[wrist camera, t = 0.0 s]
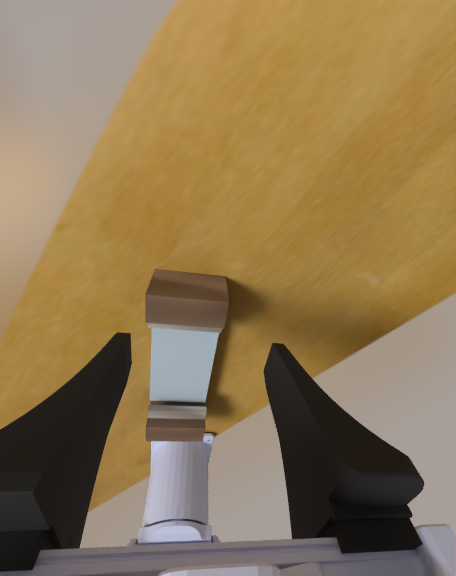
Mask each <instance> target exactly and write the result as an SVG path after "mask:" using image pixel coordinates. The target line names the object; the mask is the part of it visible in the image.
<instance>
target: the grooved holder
mask: <svg viewBox="0 0 456 576" xmlns="http://www.w3.org/2000/svg"><path fill="white" fill-rule="evenodd" d="M228 306H229V297H228V290H227V282H226V277H225V276H215V275H206V274H196V273H186V272H177V271H167V270H157V269H155V270H154V273H153V276H152V279H151V281H150V284H149V287H148V289H147V292H146V323H148V328H160V329H174V330H188V331H201V332H215V333H221V332H222V328H223V329H224V327H225V322H226V317H227V312H228ZM206 413H207V407H205V403H198V402H173V401H151V405H149V407H148V419H147V424H146V441H169V442H203V438H204V432H205V418H206Z"/></svg>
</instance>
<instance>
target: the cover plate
mask: <svg viewBox="0 0 456 576" xmlns="http://www.w3.org/2000/svg"><path fill="white" fill-rule="evenodd" d="M218 336H219V333H215V332H201V331H188V330H174V329H160V328H152V344H151V375H150V401H173V402H198V403H205V401H206V396H207V391H208V386H209V381H210V376H211V371H212V366H213V361H214V356H215V351H216V346H217V341H218Z"/></svg>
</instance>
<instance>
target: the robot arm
mask: <svg viewBox="0 0 456 576" xmlns="http://www.w3.org/2000/svg"><path fill="white" fill-rule="evenodd" d="M131 364H132V359H131V335H130V333H118V332H117V333H116V334H115V335H114V336H113V337H112V338H111V340H110V341H109V342H108V343H107V344H106V345H105V346H104V347H103V348H102V349H101V351H100V352H99V353H98V354H97V355H96V356H95V357H94V358H93V359H92V360H91V361H90V362H89V363H88V364H87V365H86V366H85V367H84V368H83V369H81V370H80V371H79V372H78V373H77V374H76V375H75V376H74V377H73V378H72V379H70V380H69V381H68V382H67V383H66V384H65V385H63V386H62V387H61V388H60V389H58V390H57V391H56V392H55V393H53V394H52V395H51V396H50V397H48V398H47V399H45V400H44V401H43V402H41V403H40V404H39V405H37V406H36V407H35V408H33V409H32V410H30V411H29V412H27V413H26V414H24V415H23V416H21V417H20V418H18V419H16V420H15V421H13V422H12V423H10V424H9V425H7V426H5V427H4V428H2V429H1V430H0V576H456V536H455V535H454V533H453V531H452V530H451V528H450V526H449V525H446V524H437V525H420V526H417V527H415V528H414V526H413V524H412V522H411V521H410V519H409V518H411V517H412V512H411V511H410V509H409V507H408V506H407V504H408V503H409V502H410V501H412V499H414V498H415V497H416V496H417V495H418V494H419V493H420V492H421V491H422V490H423V486H424V481H423V479H422V477H421V476H420V475H419V473H418V471H417V470H416V468H415V466H414V465H413V463H412V461H411V460H410V459H409V457H408V456H407V455H405V454H403V453H402V452H400V451H399V450H397V449H396V448H394V447H393V446H391V445H390V444H388V443H387V442H385V441H383V440H382V439H381V438H379V437H378V436H376V435H375V434H374V433H372V432H371V431H369V430H368V429H367V428H365V427H364V426H363V425H361V424H360V423H359V422H358V421H356V420H355V419H354V418H353V417H352V416H350V415H349V414H348V413H347V412H345V411H344V410H343V409H342V408H341V407H340V406H339V405H338V404H336V403H335V402H334V401H333V400H332V399H331V398H330V397H329V396H328V395H327V394H326V393H325V392H324V391H323V390H322V389H321V388H320V387H319V386H318V385H317V384H316V382H315V381H314V380H313V379H312V378H311V377H310V376H309V375H308V373H307V372H306V371H305V370H304V369H303V367H302V366H301V365H300V364H299V363H298V361H297V360H296V359H295V358H294V356H293V355H292V354H291V353H290V351H289V350H288V349H287V348H286V346H285V345H284V344H278V343H272V346H271V349H270V352H269V355H268V359H267V362H266V365H265V368H264V377H265V384H266V390H267V394H268V398H269V402H270V405H271V409H272V413H273V416H274V420H275V424H276V428H277V432H278V436H279V441H280V447H281V453H282V459H283V465H284V472H285V479H286V487H287V495H288V503H289V512H290V521H291V530H292V531H291V532H292V539H287V540H265V541H241V542H220V541H219V539H218V537H217V536H216V535H214V536H211V525H208V462H209V457H210V452H211V448H212V444H213V440H214V435H213V434H212V433H204V438H203V442H169V441H151V475H150V481H149V487H148V493H147V500H146V506H145V512H144V518H143V525H142V527H141V528H140V529H139V536H138V540H137V539H132V540H131V541H130V543H129V544H128V545H127V546H125V547H101V548H79V547H80V543H81V539H82V534H83V530H84V525H85V521H86V517H87V513H88V508H89V504H90V500H91V496H92V492H93V488H94V484H95V480H96V476H97V472H98V469H99V465H100V461H101V457H102V454H103V450H104V446H105V443H106V439H107V436H108V433H109V430H110V427H111V424H112V421H113V419H114V416H115V413H116V411H117V408H118V405H119V403H120V400H121V397H122V395H123V392H124V389H125V387H126V384H127V380H128V376H129V372H130V368H131Z"/></svg>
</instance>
